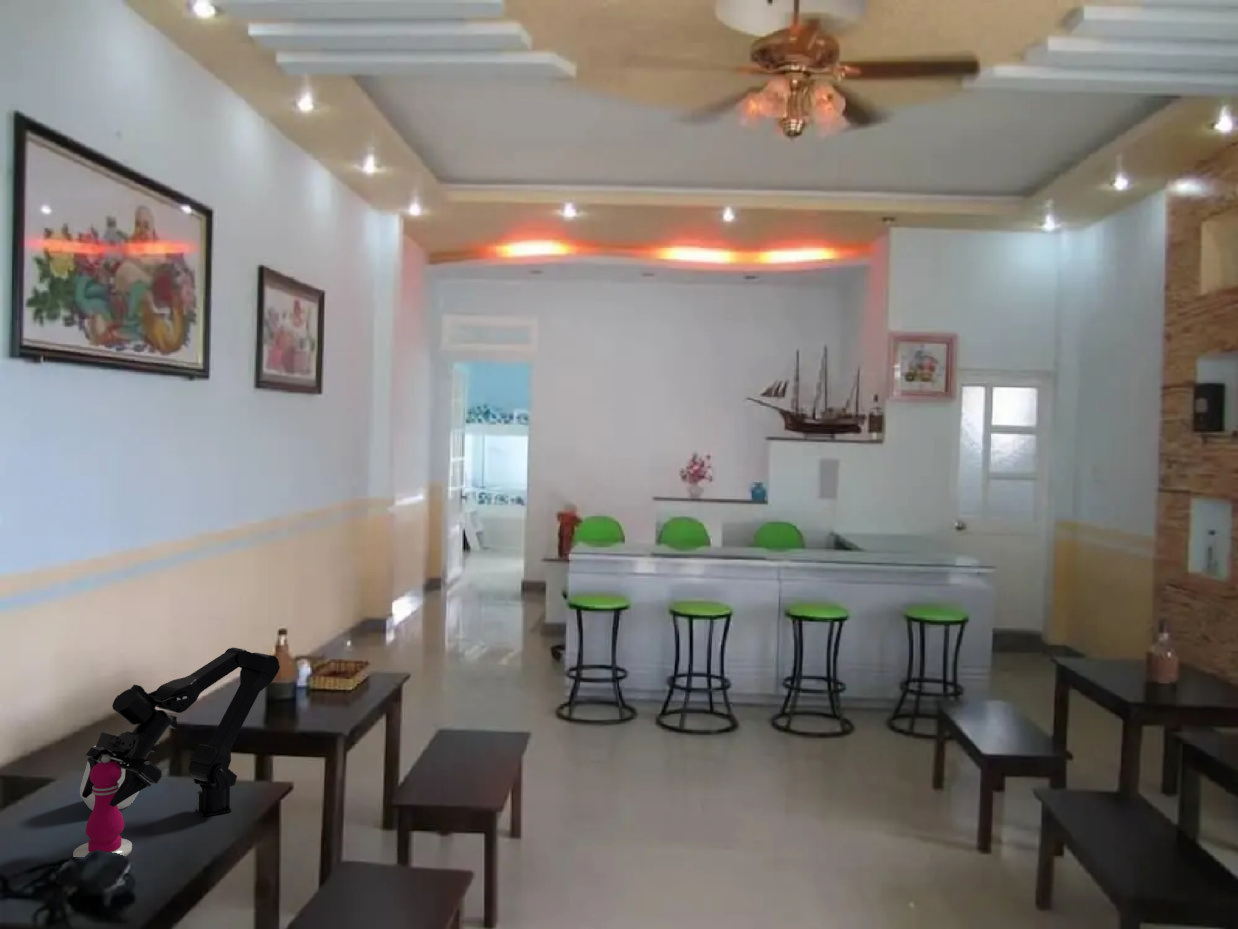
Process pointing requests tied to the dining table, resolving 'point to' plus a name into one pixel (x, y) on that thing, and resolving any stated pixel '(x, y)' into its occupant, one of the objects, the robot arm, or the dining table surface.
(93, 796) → the cup
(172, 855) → the dining table surface
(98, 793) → the pepper mill
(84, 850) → the saucer
